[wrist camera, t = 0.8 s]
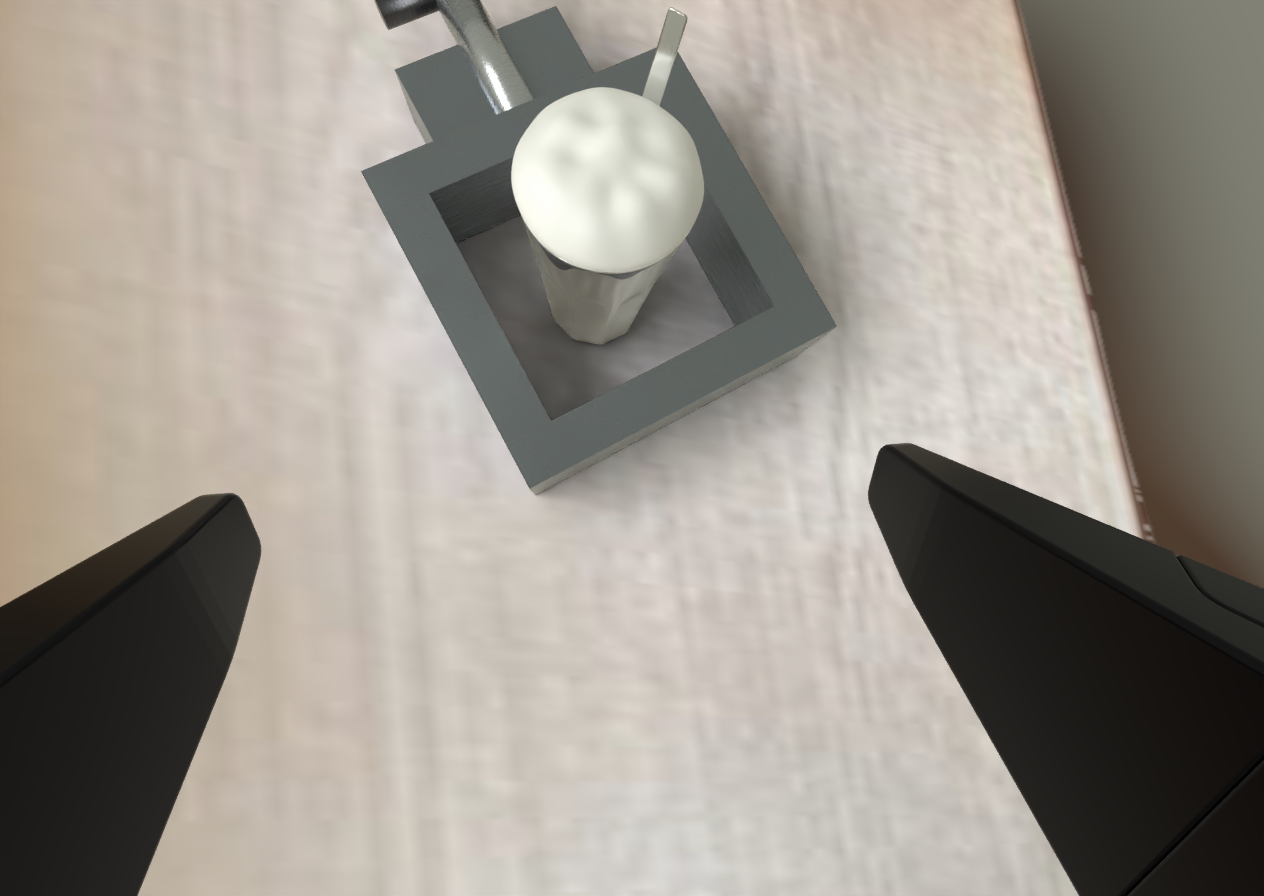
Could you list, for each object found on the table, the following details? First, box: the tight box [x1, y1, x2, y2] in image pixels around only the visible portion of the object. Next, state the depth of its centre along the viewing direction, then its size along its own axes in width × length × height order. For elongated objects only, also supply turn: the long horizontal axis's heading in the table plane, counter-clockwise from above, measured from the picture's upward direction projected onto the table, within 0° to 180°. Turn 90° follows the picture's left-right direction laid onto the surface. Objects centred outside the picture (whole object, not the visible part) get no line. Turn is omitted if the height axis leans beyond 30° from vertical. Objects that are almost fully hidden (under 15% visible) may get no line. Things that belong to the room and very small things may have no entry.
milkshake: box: [511, 7, 704, 345], centre depth 17 cm, size 5×5×10 cm
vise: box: [361, 0, 836, 495], centre depth 21 cm, size 17×11×4 cm, turn 29°
